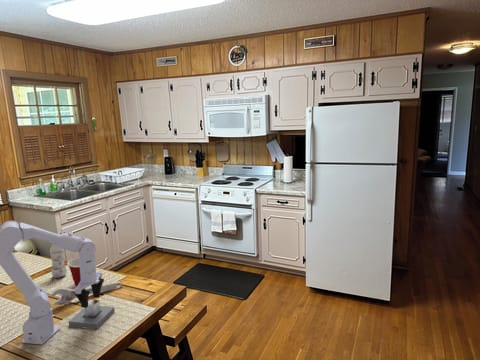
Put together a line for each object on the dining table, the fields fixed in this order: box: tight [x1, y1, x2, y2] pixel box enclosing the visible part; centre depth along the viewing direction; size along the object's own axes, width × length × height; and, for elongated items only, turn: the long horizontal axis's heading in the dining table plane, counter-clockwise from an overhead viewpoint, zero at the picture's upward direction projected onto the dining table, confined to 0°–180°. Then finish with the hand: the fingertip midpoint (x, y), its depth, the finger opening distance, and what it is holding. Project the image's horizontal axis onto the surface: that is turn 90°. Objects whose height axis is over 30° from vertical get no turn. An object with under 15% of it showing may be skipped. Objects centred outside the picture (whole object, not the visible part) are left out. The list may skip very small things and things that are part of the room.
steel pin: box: [85, 299, 101, 318], centre depth 129 cm, size 4×4×7 cm
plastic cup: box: [66, 257, 81, 287], centre depth 158 cm, size 11×11×12 cm
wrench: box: [50, 280, 123, 306], centre depth 146 cm, size 8×2×30 cm
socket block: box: [68, 305, 115, 330], centre depth 130 cm, size 12×12×2 cm
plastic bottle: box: [49, 242, 67, 279], centre depth 166 cm, size 6×7×20 cm
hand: (90, 302), depth 129 cm, fingers open, 7 cm apart
